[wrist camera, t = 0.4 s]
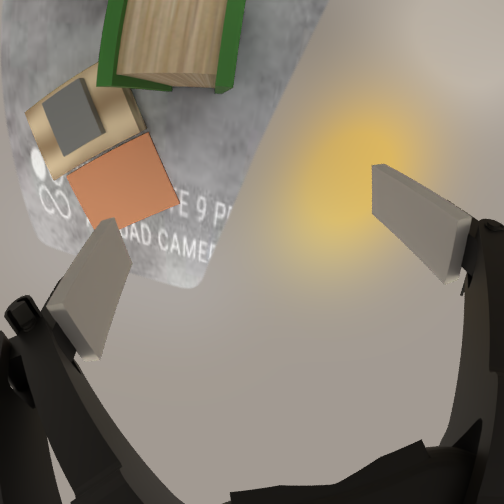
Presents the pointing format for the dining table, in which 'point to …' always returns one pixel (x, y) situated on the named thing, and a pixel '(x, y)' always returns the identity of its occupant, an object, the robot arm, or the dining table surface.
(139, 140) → the mat
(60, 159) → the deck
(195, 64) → the hardback book
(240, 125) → the dining table surface
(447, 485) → the robot arm
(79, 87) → the gray flat block
